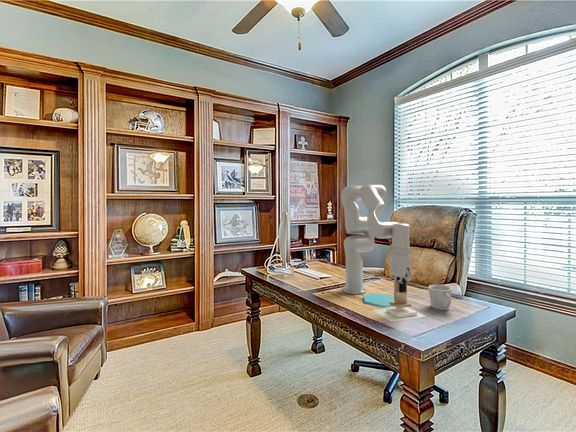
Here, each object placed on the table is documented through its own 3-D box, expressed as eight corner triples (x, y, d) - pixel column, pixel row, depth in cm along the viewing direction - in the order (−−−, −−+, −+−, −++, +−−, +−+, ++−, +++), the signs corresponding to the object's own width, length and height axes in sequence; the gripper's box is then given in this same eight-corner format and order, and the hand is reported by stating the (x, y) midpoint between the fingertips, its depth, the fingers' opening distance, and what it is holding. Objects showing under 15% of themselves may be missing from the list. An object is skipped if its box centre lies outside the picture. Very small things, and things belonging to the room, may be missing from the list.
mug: (445, 304, 160) (445, 284, 159) (461, 315, 145) (462, 293, 145) (424, 304, 160) (424, 284, 159) (438, 315, 145) (438, 293, 145)
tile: (386, 308, 150) (398, 314, 141) (404, 305, 153) (417, 311, 144) (386, 311, 150) (398, 318, 141) (404, 309, 153) (417, 315, 144)
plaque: (406, 303, 167) (370, 294, 179) (406, 299, 166) (370, 291, 179) (393, 312, 153) (355, 302, 166) (393, 308, 153) (355, 298, 166)
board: (372, 311, 152) (372, 310, 152) (404, 306, 157) (404, 305, 157) (390, 322, 138) (390, 321, 138) (426, 317, 143) (426, 316, 143)
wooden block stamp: (389, 304, 149) (390, 280, 149) (402, 302, 151) (403, 278, 151) (397, 308, 143) (398, 283, 143) (411, 306, 146) (411, 282, 145)
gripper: (383, 248, 152) (383, 287, 154) (404, 254, 137) (404, 297, 138) (397, 247, 155) (396, 285, 156) (419, 253, 139) (419, 295, 140)
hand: (400, 290), depth 147 cm, fingers closed on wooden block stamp
